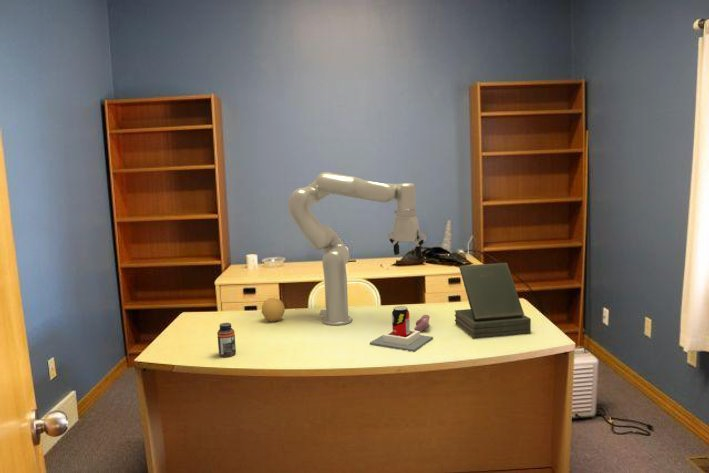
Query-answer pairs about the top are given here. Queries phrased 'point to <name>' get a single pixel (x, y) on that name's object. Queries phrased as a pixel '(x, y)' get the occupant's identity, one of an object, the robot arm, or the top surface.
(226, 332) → the supplement bottle
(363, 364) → the top surface
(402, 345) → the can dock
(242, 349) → the top surface
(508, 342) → the top surface
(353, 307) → the top surface
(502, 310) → the dark grey slab stack
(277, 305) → the stress ball
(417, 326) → the video game controller
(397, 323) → the beverage can
